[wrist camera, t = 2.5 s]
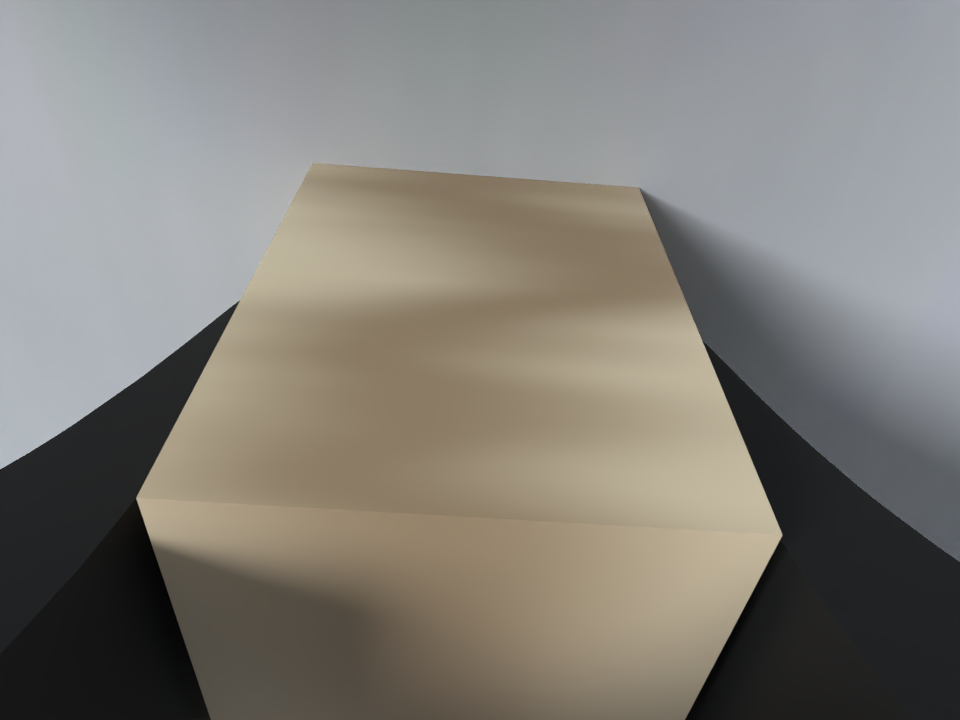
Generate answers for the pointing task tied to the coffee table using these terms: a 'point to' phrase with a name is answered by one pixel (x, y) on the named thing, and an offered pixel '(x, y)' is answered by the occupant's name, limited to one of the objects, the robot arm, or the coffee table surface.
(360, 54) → the coffee table surface
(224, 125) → the coffee table surface
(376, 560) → the maple block
